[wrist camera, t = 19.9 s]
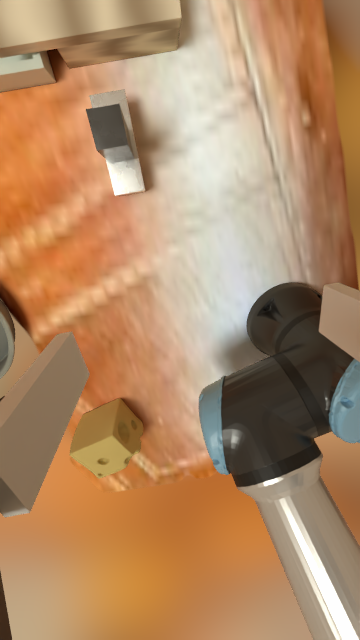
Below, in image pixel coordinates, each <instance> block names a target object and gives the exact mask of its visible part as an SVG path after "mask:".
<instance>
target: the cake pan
mask: <svg viewBox="0 0 360 640" xmlns="http://www.w3.org/2000/svg"><path fill="white" fill-rule="evenodd" d="M14 341H15V328H14V324H13V320H12V318H11V315H10V313H9V311H8V310H7V308H6V307H5V305H4V304H3V303H2V301H1V300H0V379H1V378H2V377H3V376H4V375H5V374H6V372H7V371H8V369H9V368H10V366H11V364H12V361H13V357H14V349H15V347H14Z"/></svg>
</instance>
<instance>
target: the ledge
mask: <svg viewBox="0 0 360 640" xmlns="http://www.w3.org/2000/svg"><path fill="white" fill-rule="evenodd" d="M181 18H182V17H181V8H180V0H0V58H5V57H10V56H16V55H22V54H28V53H34V52H40V51H46V50H52V49H57V50H58V51H59V53H60V54H61V56H62V57H63V59H64V61H65V62H66V64H67V65H68V67H69V68H75V67H81V66H87V65H93V64H99V63H104V62H110V61H116V60H122V59H128V58H134V57H139V56H145V55H151V54H157V53H163V52H169V51H174V50H177V45H178V38H179V31H180V24H181Z"/></svg>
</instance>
